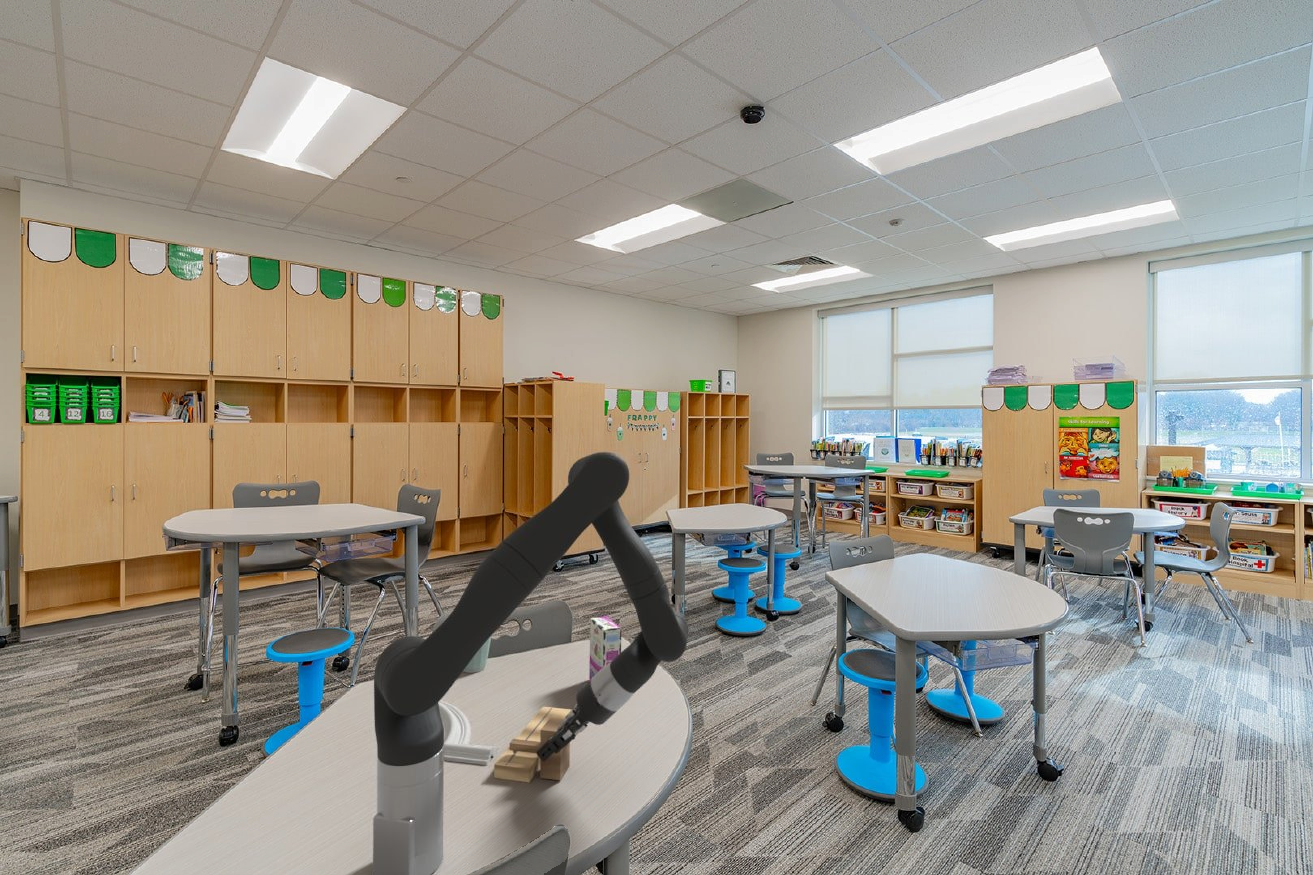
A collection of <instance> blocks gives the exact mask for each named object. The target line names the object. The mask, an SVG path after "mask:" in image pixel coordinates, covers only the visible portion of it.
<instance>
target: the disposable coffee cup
mask: <svg viewBox="0 0 1313 875" xmlns="http://www.w3.org/2000/svg"><path fill="white" fill-rule="evenodd" d="M491 640H492V635H491V636H490V638H489V639H488V640H487V641H486V642H485V643H484V644H483V646H482V647H481V648H480V649H479V651H478V652H477V653H476V654H475V656H474V657H473V658H472V660H471V661H470V662H469V664H468V665H467V666H466V668H465V669H464V670H463V672H464V673H468V674H470V673H471V674H472V673H473V674H475V673H479V672H481V671H483V670H485V669H486V666H487V663H488V658H489V653H490V652H489V651H490V646H491Z"/></svg>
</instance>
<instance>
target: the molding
mask: <svg viewBox="0 0 1313 875" xmlns="http://www.w3.org/2000/svg"><path fill="white" fill-rule="evenodd" d="M450 690H451V691H452V687H451V688H450V689H449V690H448V692H449V691H450ZM438 704H439V711H440V715H441V719H442V723H443V727H444V761H447V762H448V761H449V762H457V763H466V764H475V765H481V766H488V765H489V763H490V762H491V759H492V758H494V757H495V756H496V755H497V754H498V753H499V751H500V747H497V746H491V745H490V746H489V745H479V744H471V743H470V742H471V737H472V728H471V724H470V721H469V718H468V717H467V715H465V713H463V711H462V710H461V709H460V708H458V707H456V706H454V705H453V704H451V703H448V702H446V701H444V700H442V699H441V700H440V701H439V702H438Z"/></svg>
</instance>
